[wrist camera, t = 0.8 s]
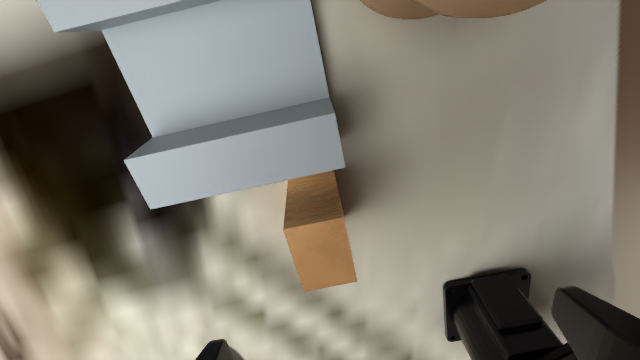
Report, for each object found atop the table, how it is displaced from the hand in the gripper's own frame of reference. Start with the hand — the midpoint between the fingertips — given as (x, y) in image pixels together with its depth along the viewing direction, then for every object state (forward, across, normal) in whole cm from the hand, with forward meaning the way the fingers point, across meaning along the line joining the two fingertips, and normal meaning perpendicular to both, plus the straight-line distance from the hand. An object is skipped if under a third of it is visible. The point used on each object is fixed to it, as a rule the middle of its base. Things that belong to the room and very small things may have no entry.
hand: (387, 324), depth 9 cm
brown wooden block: (+12, +2, +2) cm, 13 cm away
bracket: (+12, +5, -6) cm, 15 cm away
